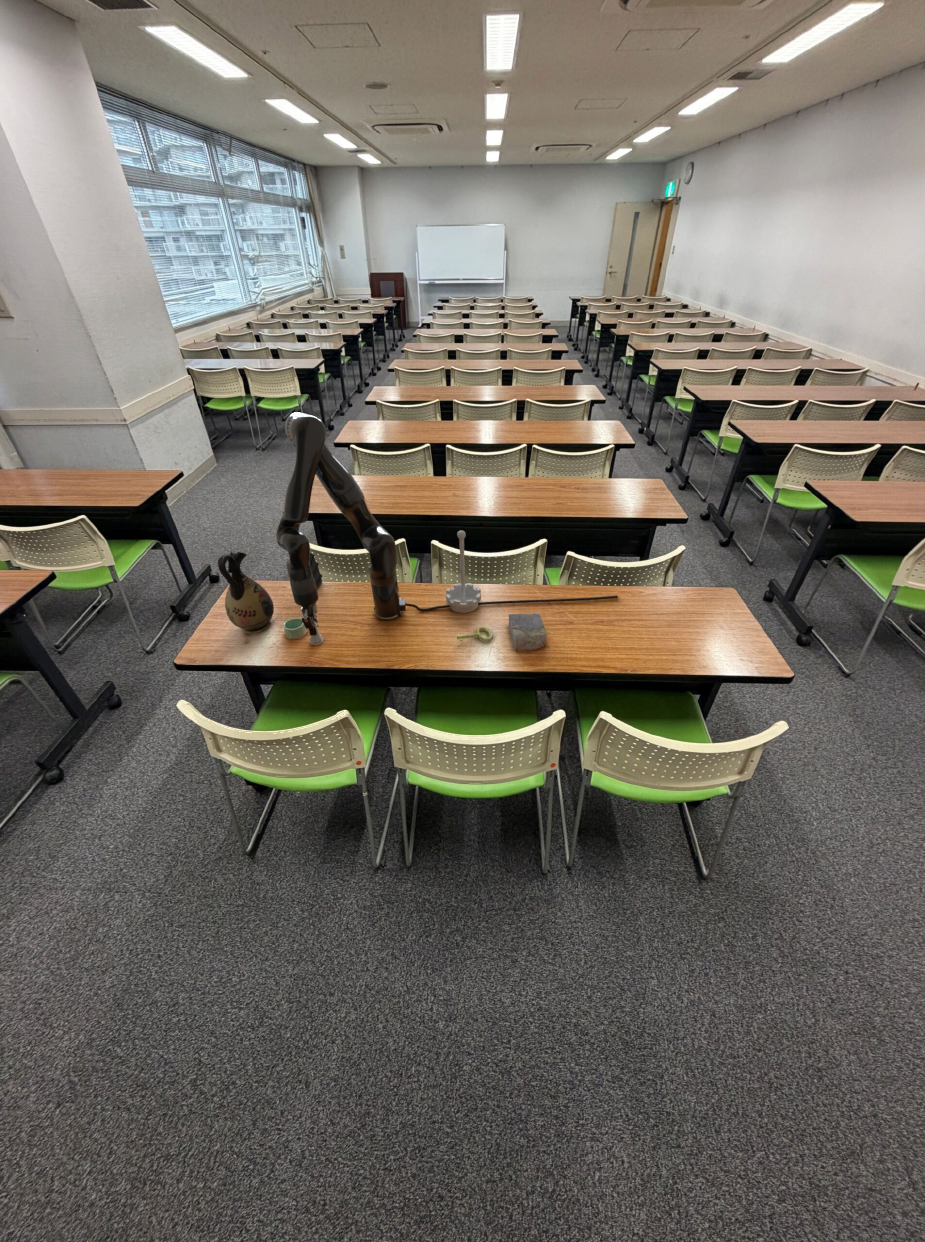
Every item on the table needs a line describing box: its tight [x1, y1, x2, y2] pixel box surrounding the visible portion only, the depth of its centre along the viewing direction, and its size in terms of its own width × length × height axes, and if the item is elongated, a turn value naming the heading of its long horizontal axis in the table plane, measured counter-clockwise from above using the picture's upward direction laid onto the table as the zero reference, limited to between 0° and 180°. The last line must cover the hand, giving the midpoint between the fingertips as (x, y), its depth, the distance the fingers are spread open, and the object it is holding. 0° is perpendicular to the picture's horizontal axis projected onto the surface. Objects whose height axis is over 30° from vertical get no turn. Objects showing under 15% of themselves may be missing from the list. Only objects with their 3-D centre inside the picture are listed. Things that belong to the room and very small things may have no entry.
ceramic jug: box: [217, 551, 275, 635], centre depth 174 cm, size 17×15×30 cm
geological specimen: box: [508, 613, 548, 652], centre depth 172 cm, size 11×6×15 cm
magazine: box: [310, 552, 323, 590], centre depth 199 cm, size 4×13×15 cm, turn 173°
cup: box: [283, 617, 307, 640], centre depth 178 cm, size 7×7×4 cm
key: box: [456, 626, 493, 643], centre depth 173 cm, size 7×12×2 cm, turn 126°
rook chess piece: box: [309, 621, 324, 646], centre depth 173 cm, size 4×4×8 cm
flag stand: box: [445, 530, 482, 614], centre depth 182 cm, size 13×13×30 cm
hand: (314, 631), depth 172 cm, fingers closed on rook chess piece, 3 cm apart
